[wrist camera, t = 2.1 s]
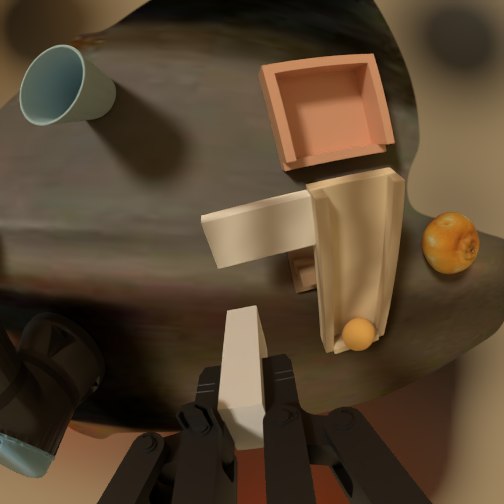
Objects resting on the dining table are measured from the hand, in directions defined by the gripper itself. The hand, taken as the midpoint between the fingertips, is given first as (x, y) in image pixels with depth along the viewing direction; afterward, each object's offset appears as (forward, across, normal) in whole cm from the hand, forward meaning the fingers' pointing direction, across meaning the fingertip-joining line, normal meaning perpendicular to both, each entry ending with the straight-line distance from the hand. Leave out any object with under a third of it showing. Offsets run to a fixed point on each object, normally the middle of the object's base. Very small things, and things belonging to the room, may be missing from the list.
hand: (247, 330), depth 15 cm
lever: (+15, +6, -6) cm, 17 cm away
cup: (+20, -14, +20) cm, 31 cm away
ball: (+15, +10, -14) cm, 23 cm away
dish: (+21, +11, +11) cm, 26 cm away
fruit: (+22, +26, -7) cm, 34 cm away
